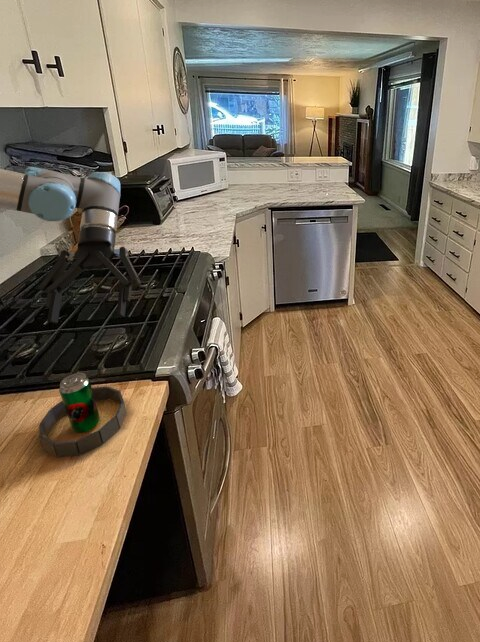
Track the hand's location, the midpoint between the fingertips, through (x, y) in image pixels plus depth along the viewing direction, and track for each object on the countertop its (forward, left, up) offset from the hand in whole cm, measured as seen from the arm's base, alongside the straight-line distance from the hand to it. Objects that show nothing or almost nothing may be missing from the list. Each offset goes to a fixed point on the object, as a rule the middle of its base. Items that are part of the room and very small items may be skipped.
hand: (87, 319), depth 78 cm
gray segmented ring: (+6, -9, -19) cm, 22 cm away
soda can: (+6, -9, -20) cm, 22 cm away
